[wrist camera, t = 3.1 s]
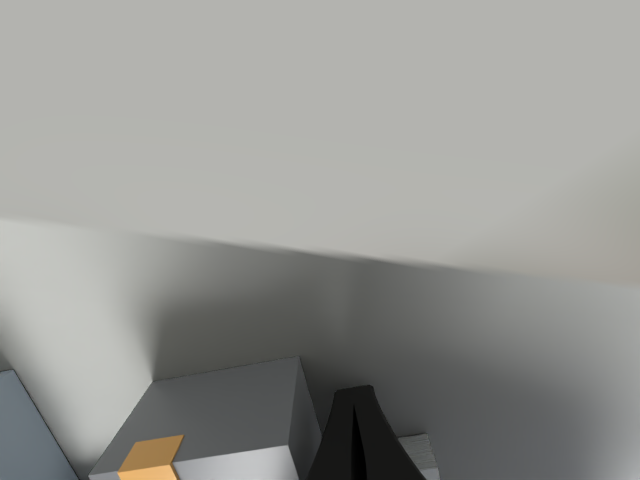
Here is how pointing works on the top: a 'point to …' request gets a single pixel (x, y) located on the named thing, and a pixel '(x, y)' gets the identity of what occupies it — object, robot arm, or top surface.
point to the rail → (421, 455)
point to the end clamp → (26, 438)
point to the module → (219, 428)
